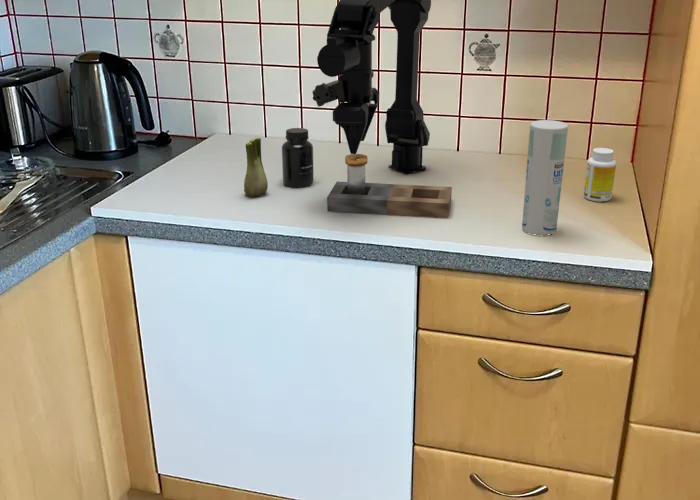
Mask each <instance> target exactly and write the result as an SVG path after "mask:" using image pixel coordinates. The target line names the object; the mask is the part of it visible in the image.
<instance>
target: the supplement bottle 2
mask: <svg viewBox="0 0 700 500" xmlns="http://www.w3.org/2000/svg"><path fill="white" fill-rule="evenodd" d="M586 163H587V165H586V173H585V182H584V191H583V196H584V198H585V199H586V200H588V201H591V202H600V203H603V201H604V202H608V201H610V200H611V199H612V196H613V190H614V183H615V177H616V176H615V173H616V168H617V161H616V160H615V159H614V150H613V149H611V148H606V147H595V148H593V150H592V156H591V157H589V158H588V159H587V162H586Z"/></svg>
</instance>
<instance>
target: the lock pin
mask: <svg viewBox="0 0 700 500" xmlns="http://www.w3.org/2000/svg"><path fill="white" fill-rule="evenodd" d="M344 163H345V165H347V166H346V167H347V170H346V171H347V172H346V173H347V174H346V175H347V177H346V179H347V181H346V182H348V194H352V195H365V183H366V165H367V164H368V156H367V155H366V154H362V153H356V154H351V153H350V154H347V155H345V157H344Z"/></svg>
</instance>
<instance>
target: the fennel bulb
mask: <svg viewBox="0 0 700 500" xmlns="http://www.w3.org/2000/svg"><path fill="white" fill-rule="evenodd" d="M245 152H246V165H247V166H246V172H245V177H244V180H243V187H244V188H243V192H244V193H245V194H246V195H247V196H251V197H258V196H261V195H264V194H265V193H267V190H268V178H267V175H266V172H265V170H264V169H265V168H264V165H263V161H262V139H261V137H256V138H252V139H249V142H247V143H245Z"/></svg>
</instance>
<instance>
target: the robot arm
mask: <svg viewBox="0 0 700 500" xmlns="http://www.w3.org/2000/svg"><path fill="white" fill-rule="evenodd" d="M431 7H432V0H339V1H337V4H336V6H335V8H334V10H333V15H332V16H331V17H332V18H331V20H330V23H329V26H328V27H329V28H328V31H327V33H326V45H324V46H323V47H321V48H320V50H319V51H318V55H317V57H316V60H317V61H316V62H317V65H318V68H319V69H320V71H321V73H322V74H324V75H325V76H327V77H330V78H335V77H338V79H337V80H333V81H330V82H328V83H325V82H323V83H321V84H317V85H316V86H315V87H314V89H313V90H312V100H313V101H315V102H316V105H317V107H323V106H324V105H325V104H329V103H331V102H334V101H336V100H337V102H338V105H337V106H336V107H335V108H334V109H333V111H332V122H334V124H336V125H337V126H339V127H341V129H343V132H344V135H345V139H346V141H347V142H346V143H347V145H348V149H349V152H350V154H358V149H359V147H360V144H361V142H364V141H365V139H366V136H367V133H368V131H369V128H370V126H371V124H372V121H373V118H374V115H375V113H376V111H377V108H378V106H379V102H380V91H379V90H378V89H377V88H375V87H373V83H372V82H373V80H372V79H373V78H374V70H372V69H373V68H372V67H373V62H372V61H373V59H372V57H373V55H372V54H373V52H372V50H373V49H372V48H373V47H372V46H373V41H375V40H376V36H375V35H374V34H373V33H374V30H375V28H376V26H378V24H379V23H380V21H381V20H380V17H381V16H380V15H381V13H382V12H383V11H384V10H386V9H387V8H388V9H389V13H390V15H389V16H390V22H391V23H392V24H393V27H394V29H395V30H396V33H397V37H396V38H397V39H396V40H397V41H396V42H397V43H396V71H395V94H394V95H395V97H394V98H395V99H394V101H393V103H392V105H391V106H390V108H389V107H388V108H387V110H386V113H385V114H386V119H385V123H384V124H385V125H384V128H385V135H386V141H387V144H392V147H393V148H392V149H393V150H391V164H389V165H388V168H389V169H391V170H394V171H397V172H399V173H401V174H405V175H406V174H407V175H408V174H413V173H415V172H420V171H424V170H427V166H425V165H423V149H424V148H423V147H427V146H429V141H430V135H431V133H430V131H429V128H428V127H427V124H426V123H425V119H424V110H423V108H422V106H421V105H420V103H419V101H418V82H419V81H418V78H419V58H420V56H419V55H420V35H421V31H422V30H423V28H424V27H425V25H426V24H427V22H428V19H429V13H430V11H431V9H432V8H431ZM372 102H374V103H372Z"/></svg>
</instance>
